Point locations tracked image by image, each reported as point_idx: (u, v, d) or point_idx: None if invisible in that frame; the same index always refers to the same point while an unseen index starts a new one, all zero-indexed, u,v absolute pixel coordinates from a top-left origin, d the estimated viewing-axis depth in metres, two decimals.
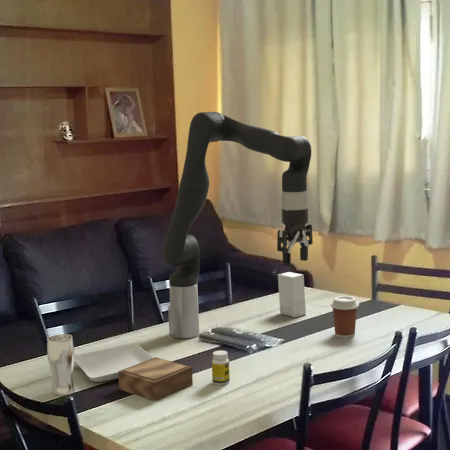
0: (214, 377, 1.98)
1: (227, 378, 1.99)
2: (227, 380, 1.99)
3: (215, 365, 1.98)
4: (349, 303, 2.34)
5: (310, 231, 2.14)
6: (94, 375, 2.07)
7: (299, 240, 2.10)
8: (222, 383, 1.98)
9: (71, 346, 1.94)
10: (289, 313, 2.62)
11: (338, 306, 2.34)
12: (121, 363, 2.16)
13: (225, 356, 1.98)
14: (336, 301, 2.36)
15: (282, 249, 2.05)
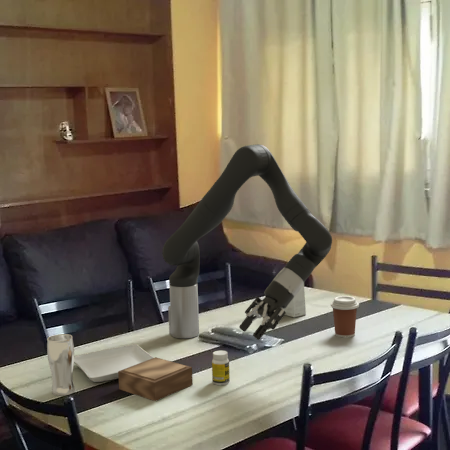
0: (214, 377, 1.98)
1: (227, 378, 1.99)
2: (227, 380, 1.99)
3: (215, 365, 1.98)
4: (349, 303, 2.34)
5: None
6: (94, 375, 2.07)
7: None
8: (222, 383, 1.98)
9: (71, 346, 1.94)
10: (289, 313, 2.62)
11: (338, 306, 2.34)
12: (121, 363, 2.16)
13: (225, 356, 1.98)
14: (336, 301, 2.36)
15: (273, 326, 1.97)
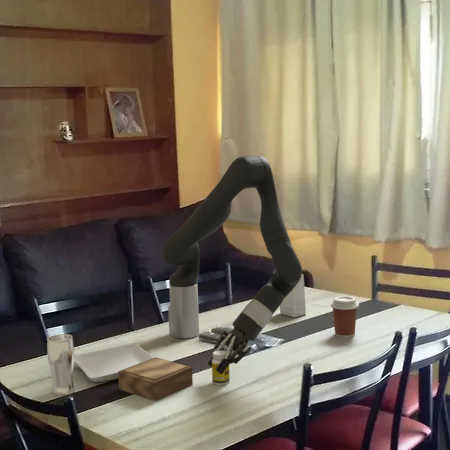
0: (214, 377, 1.98)
1: (227, 378, 1.99)
2: (227, 380, 1.99)
3: (215, 365, 1.98)
4: (349, 303, 2.34)
5: None
6: (94, 375, 2.07)
7: None
8: (222, 383, 1.98)
9: (71, 346, 1.94)
10: (289, 313, 2.62)
11: (338, 306, 2.34)
12: (121, 363, 2.16)
13: None
14: (336, 301, 2.36)
15: (236, 360, 1.95)
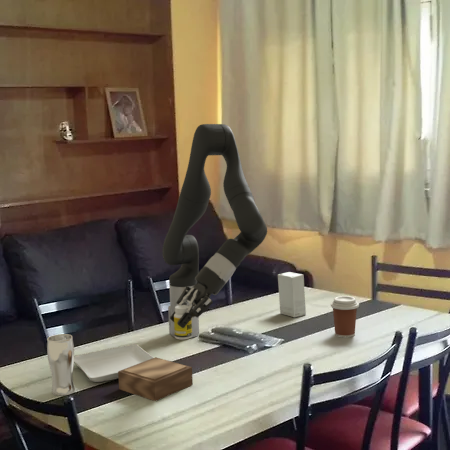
0: (176, 331, 1.96)
1: (189, 332, 1.96)
2: (189, 334, 1.96)
3: (177, 319, 1.95)
4: (349, 303, 2.34)
5: None
6: (94, 375, 2.07)
7: None
8: (184, 337, 1.95)
9: (71, 346, 1.94)
10: (289, 313, 2.62)
11: (338, 306, 2.34)
12: (121, 363, 2.16)
13: None
14: (336, 301, 2.36)
15: (197, 314, 1.92)
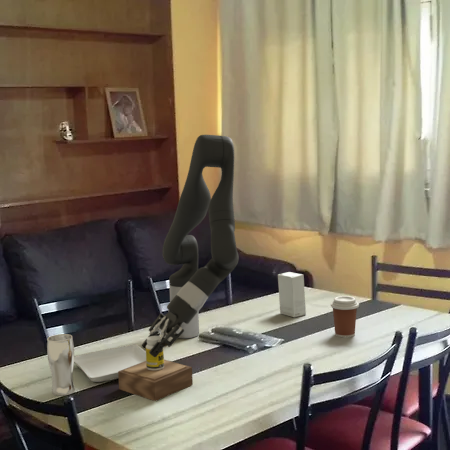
0: (148, 362, 1.96)
1: (161, 363, 1.96)
2: (161, 365, 1.96)
3: (148, 350, 1.95)
4: (349, 303, 2.34)
5: None
6: (94, 375, 2.07)
7: None
8: (156, 368, 1.95)
9: (71, 346, 1.94)
10: (289, 313, 2.62)
11: (338, 306, 2.34)
12: (121, 363, 2.16)
13: None
14: (336, 301, 2.36)
15: (169, 343, 1.92)
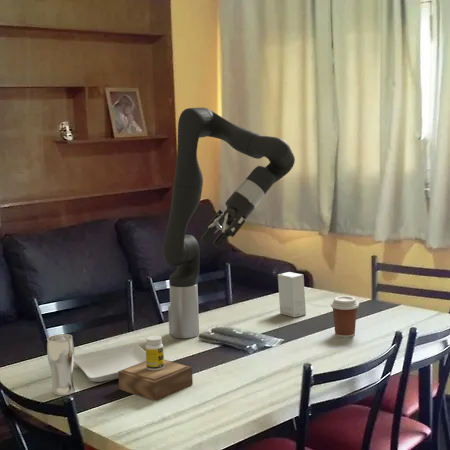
0: (148, 362, 1.96)
1: (161, 363, 1.96)
2: (161, 365, 1.96)
3: (148, 350, 1.95)
4: (349, 303, 2.34)
5: None
6: (94, 375, 2.07)
7: None
8: (156, 368, 1.95)
9: (71, 346, 1.94)
10: (289, 313, 2.62)
11: (338, 306, 2.34)
12: (121, 363, 2.16)
13: (158, 341, 1.95)
14: (336, 301, 2.36)
15: (232, 233, 2.00)
